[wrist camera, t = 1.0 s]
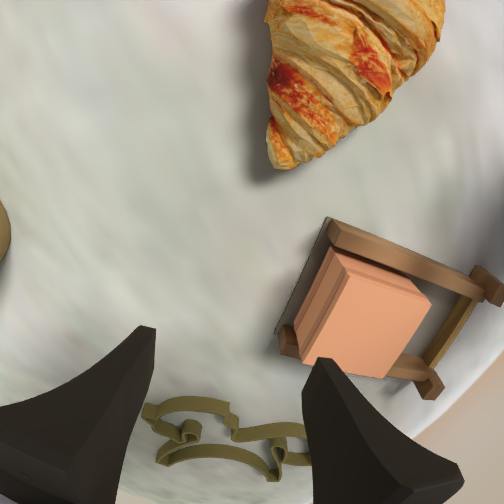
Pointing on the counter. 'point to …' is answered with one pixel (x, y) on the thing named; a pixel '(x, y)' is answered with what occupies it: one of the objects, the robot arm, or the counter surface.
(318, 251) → the brown wooden frame
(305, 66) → the croissant
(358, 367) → the peach rectangular block
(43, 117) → the counter surface
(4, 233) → the squeeze bottle
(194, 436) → the cookie cutter
